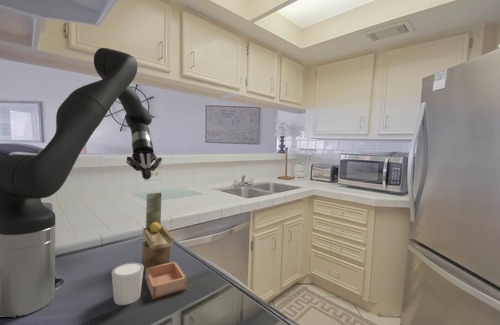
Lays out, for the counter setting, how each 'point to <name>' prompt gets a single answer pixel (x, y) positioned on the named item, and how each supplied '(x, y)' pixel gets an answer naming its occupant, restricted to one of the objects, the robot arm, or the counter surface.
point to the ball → (154, 227)
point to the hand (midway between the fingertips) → (147, 178)
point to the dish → (165, 279)
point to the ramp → (154, 215)
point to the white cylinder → (127, 283)
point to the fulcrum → (154, 256)
